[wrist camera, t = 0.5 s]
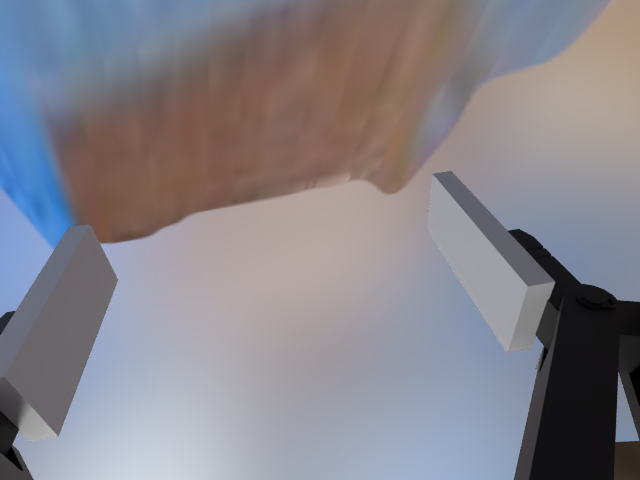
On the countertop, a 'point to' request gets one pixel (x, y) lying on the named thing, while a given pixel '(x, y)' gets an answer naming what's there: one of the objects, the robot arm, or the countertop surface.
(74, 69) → the countertop surface
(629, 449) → the brown box and bar
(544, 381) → the robot arm
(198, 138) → the countertop surface
